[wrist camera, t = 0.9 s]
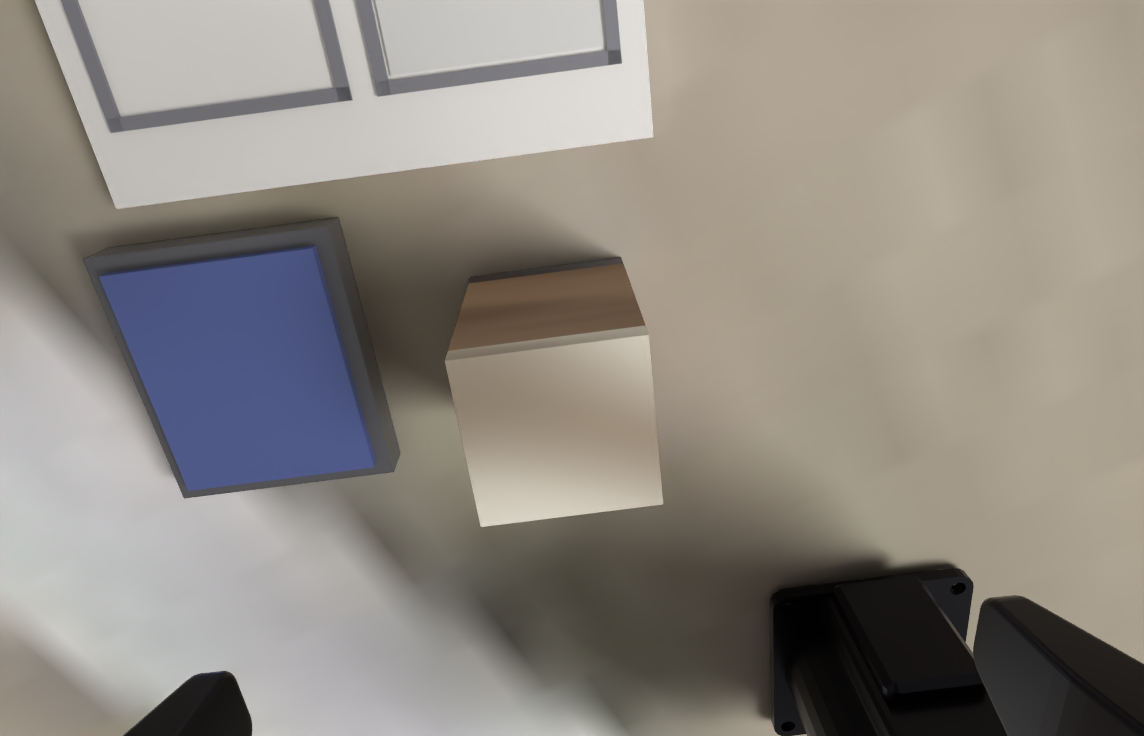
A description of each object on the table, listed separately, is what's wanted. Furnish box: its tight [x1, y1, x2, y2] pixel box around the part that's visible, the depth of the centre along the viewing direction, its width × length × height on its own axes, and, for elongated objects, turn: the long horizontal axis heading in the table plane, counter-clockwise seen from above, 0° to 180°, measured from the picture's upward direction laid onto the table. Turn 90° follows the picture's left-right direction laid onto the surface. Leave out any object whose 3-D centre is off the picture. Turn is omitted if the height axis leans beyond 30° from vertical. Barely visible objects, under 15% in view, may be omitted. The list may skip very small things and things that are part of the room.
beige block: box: [445, 257, 663, 527], centre depth 17 cm, size 4×4×6 cm
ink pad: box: [83, 217, 400, 498], centre depth 19 cm, size 7×6×1 cm
